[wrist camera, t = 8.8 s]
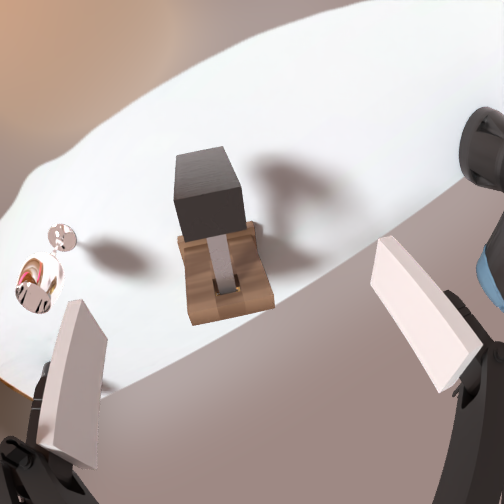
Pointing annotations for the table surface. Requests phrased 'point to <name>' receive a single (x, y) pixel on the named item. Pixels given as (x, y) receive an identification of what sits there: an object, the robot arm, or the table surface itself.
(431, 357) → the robot arm
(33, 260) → the wineglass
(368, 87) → the table surface
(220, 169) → the grey hammer
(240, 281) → the bearing frame
